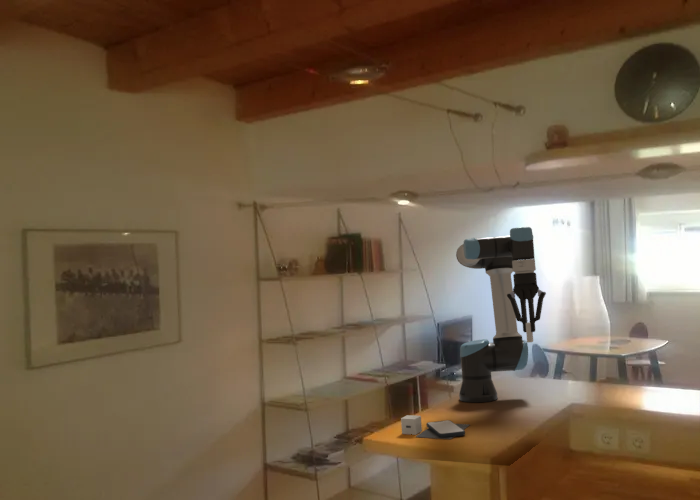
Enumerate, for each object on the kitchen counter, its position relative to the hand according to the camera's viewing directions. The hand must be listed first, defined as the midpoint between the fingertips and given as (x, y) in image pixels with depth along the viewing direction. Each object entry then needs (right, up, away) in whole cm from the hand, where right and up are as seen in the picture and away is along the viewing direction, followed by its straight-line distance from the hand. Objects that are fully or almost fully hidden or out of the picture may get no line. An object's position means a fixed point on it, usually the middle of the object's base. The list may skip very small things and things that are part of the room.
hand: (530, 341), depth 215 cm
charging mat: (-30, -28, -7) cm, 42 cm away
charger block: (-41, -29, -6) cm, 50 cm away
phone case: (-30, -28, -8) cm, 42 cm away
